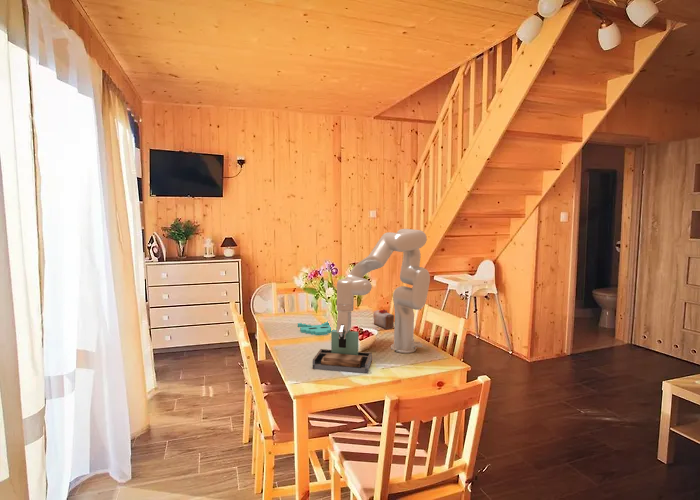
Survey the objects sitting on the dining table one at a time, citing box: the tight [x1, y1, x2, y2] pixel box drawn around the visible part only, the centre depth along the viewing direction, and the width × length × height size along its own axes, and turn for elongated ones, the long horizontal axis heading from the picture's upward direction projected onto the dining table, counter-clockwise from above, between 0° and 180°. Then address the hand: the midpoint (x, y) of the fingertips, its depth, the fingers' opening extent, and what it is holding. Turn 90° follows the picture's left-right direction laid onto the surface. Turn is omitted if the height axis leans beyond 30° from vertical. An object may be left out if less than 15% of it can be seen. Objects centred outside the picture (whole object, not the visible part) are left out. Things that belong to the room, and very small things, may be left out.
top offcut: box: [324, 353, 362, 364], centre depth 188 cm, size 16×6×2 cm, turn 77°
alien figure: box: [297, 320, 331, 336], centre depth 245 cm, size 20×2×20 cm
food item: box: [372, 309, 395, 330], centre depth 253 cm, size 14×8×10 cm, turn 33°
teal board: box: [330, 329, 360, 355], centre depth 194 cm, size 12×2×14 cm, turn 79°
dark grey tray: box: [312, 348, 373, 374], centre depth 191 cm, size 24×14×5 cm, turn 79°
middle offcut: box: [321, 356, 358, 367], centre depth 189 cm, size 16×6×2 cm, turn 82°
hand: (344, 343), depth 194 cm, fingers open, 9 cm apart
